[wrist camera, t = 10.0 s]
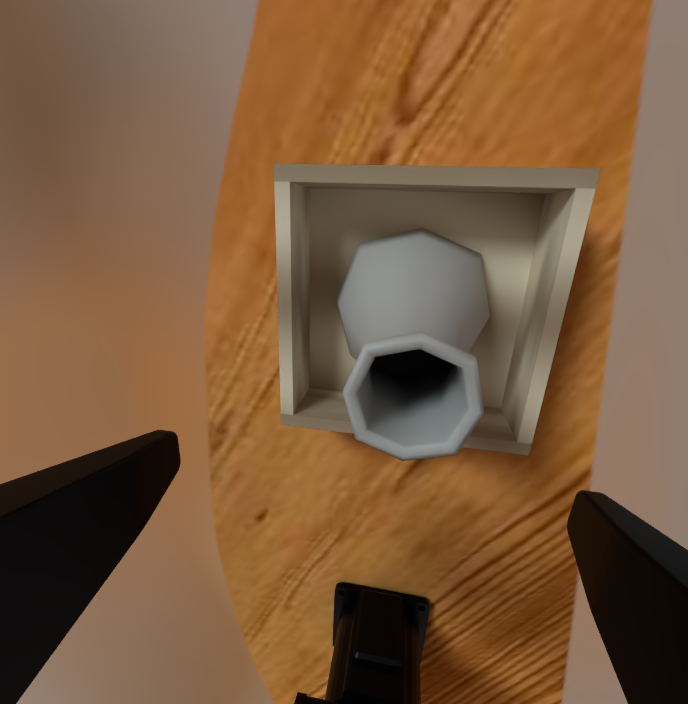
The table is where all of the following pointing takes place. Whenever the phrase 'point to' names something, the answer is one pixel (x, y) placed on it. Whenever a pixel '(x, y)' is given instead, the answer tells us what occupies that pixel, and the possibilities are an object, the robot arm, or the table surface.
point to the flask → (413, 343)
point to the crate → (454, 224)
